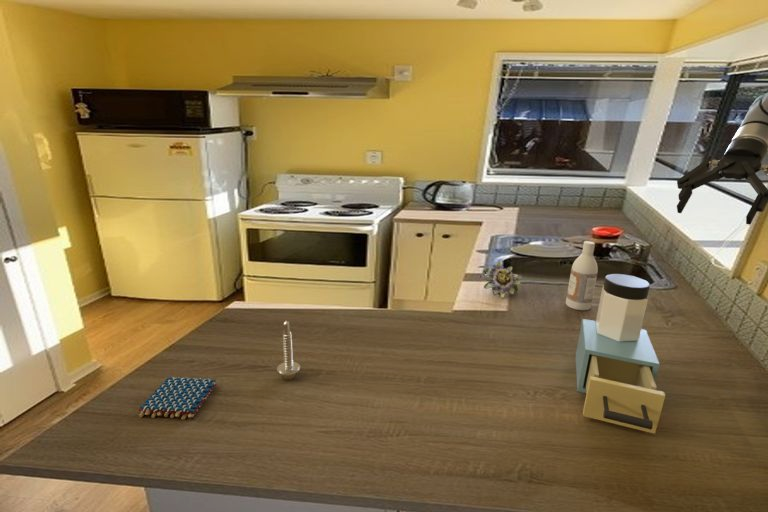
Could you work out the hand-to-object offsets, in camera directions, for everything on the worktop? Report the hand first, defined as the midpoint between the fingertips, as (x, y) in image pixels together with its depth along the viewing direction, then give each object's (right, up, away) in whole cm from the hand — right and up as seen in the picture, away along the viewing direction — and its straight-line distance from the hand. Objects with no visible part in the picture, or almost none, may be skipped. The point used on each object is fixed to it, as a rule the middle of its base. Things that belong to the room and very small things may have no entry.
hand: (711, 215), depth 99 cm
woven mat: (-116, -37, -18) cm, 123 cm away
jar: (-27, -26, -8) cm, 38 cm away
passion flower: (-40, -21, +37) cm, 58 cm away
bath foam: (-19, -25, +28) cm, 42 cm away
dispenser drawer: (-33, -39, -19) cm, 55 cm away
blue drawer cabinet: (-28, -36, -8) cm, 47 cm away
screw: (-97, -35, -10) cm, 104 cm away
